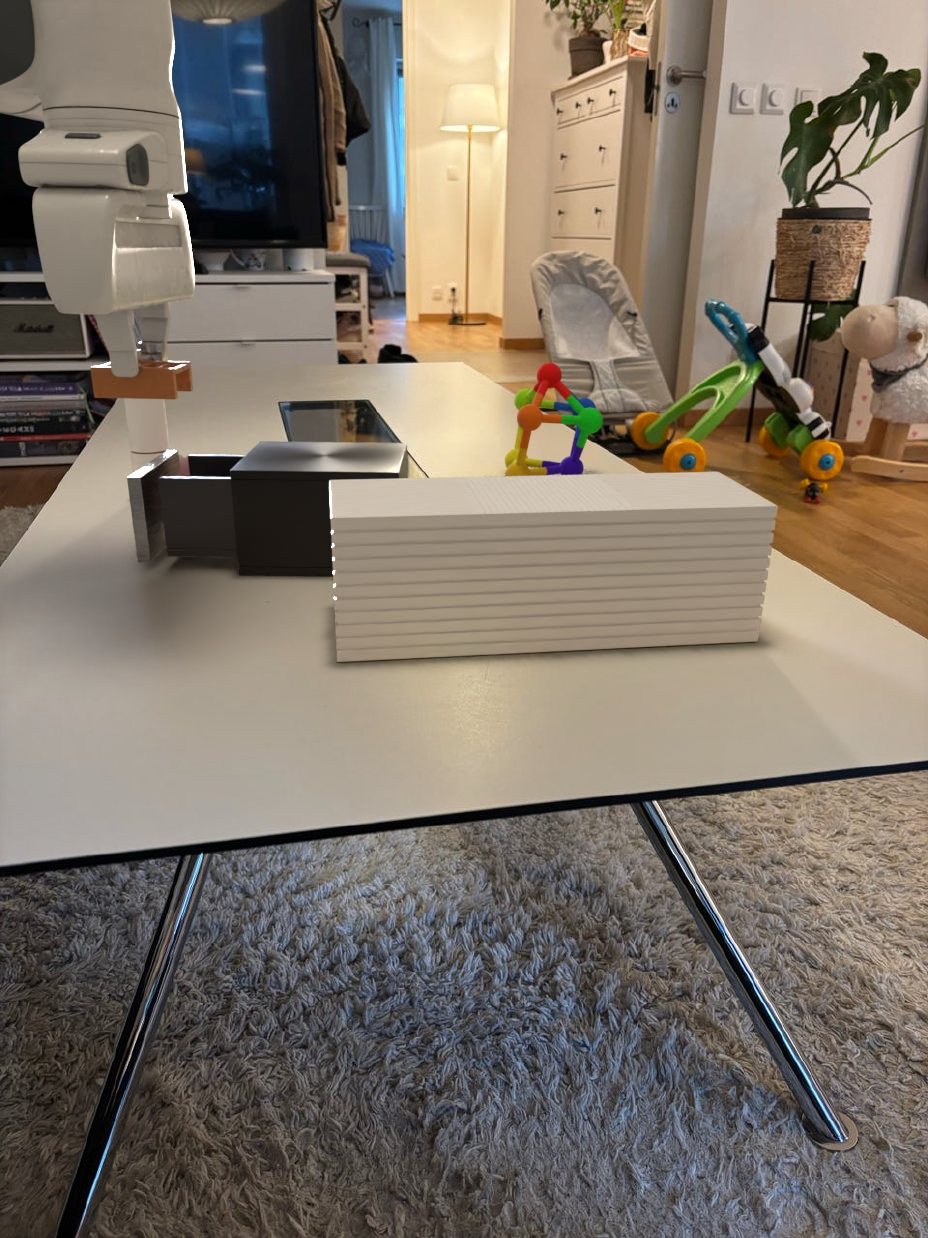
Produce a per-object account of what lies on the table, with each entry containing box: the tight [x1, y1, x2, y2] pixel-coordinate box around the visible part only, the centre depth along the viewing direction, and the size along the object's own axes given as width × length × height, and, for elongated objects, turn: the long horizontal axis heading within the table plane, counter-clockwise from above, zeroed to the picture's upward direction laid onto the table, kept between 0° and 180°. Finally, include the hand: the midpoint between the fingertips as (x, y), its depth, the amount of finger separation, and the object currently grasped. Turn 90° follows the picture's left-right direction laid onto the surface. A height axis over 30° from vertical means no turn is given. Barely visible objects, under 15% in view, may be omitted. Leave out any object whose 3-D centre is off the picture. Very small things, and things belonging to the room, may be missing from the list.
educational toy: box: [504, 362, 604, 476], centre depth 115 cm, size 16×13×15 cm
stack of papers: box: [329, 471, 779, 663], centre depth 70 cm, size 32×11×11 cm, turn 98°
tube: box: [123, 398, 170, 474], centre depth 103 cm, size 4×4×15 cm
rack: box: [90, 360, 194, 400], centre depth 68 cm, size 6×4×2 cm
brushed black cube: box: [230, 440, 408, 577], centre depth 86 cm, size 15×13×10 cm
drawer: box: [126, 449, 246, 563], centre depth 86 cm, size 15×11×8 cm
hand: (141, 370), depth 68 cm, fingers closed on rack, 4 cm apart
